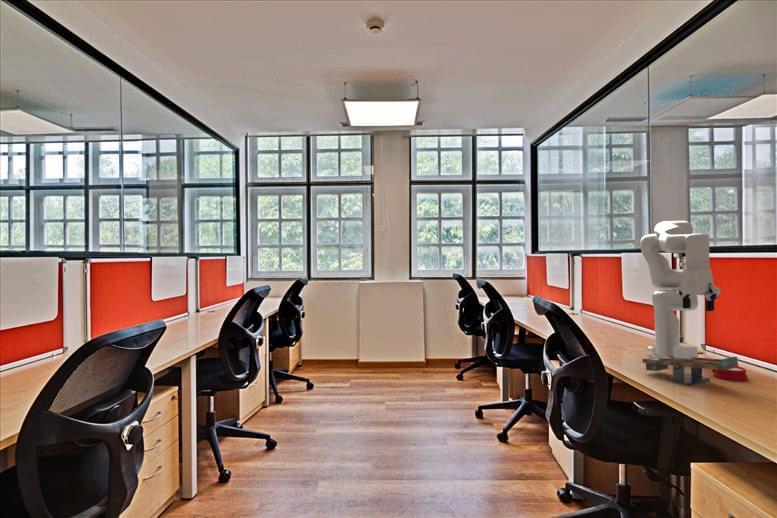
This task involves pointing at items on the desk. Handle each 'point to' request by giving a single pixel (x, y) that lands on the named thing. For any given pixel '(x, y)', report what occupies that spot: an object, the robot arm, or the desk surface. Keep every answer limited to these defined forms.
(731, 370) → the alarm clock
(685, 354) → the rider
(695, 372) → the stand
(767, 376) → the desk surface
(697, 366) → the beam
